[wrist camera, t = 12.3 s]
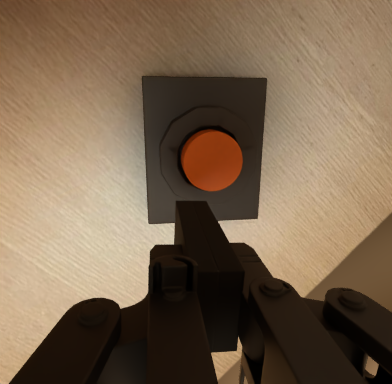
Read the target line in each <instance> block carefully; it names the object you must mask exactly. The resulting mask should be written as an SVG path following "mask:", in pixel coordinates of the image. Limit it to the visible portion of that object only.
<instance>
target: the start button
mask: <svg viewBox="0 0 392 384" xmlns="http://www.w3.org/2000/svg"><path fill="white" fill-rule="evenodd" d="M181 163H182V167H183V170H184V172H185V174H186V176H187V178H188V179H189V181H190V182H191V183H192V184H193V185H194V186H196V187H197V188H199V189H202V190H205V191H218V190H222V189H224V188H226V187H228V186H229V185H231V184H232V183H233V182H234V181H235V180H236V179H237V177H238V175H239V174H240V171H241V168H242V163H243V157H242V152H241V149H240V147H239V145H238V143H237V142H236V141H235V140H234V139H233V138H232V137H230V136H229V135H227V134H225V133H223V132H220V131H218V130H213V129H207V130H202V131H199V132H197V133H195V134H193V135H192V136H191V137H190V138H189V139H188V140H187V141H186V143H185V144H184V147H183V149H182V153H181Z"/></svg>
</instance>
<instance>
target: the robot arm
mask: <svg viewBox="0 0 392 384" xmlns="http://www.w3.org/2000/svg"><path fill="white" fill-rule="evenodd" d="M238 336H239V339H240V342H241V344H242V356H241V365H240V375H239V384H243V382H244V376H246V379H247V381H248V384H392V312H390V311H389V310H387V309H386V308H384V307H382V306H381V305H380V304H378V303H377V302H375V301H374V300H372V299H370V298H369V297H367V296H366V295H363V294H362V293H360V292H357V291H354V290H352V289H348V288H347V289H346V288H333V289H330V290H328V291H327V293H326V295H325V300H324V301H319V300H312V299H306V298H302V297H300V295H299V294H298V293H297V291H296V290H295V289H294V288H293V287H292V286H291V285H290V284H289V283H287V282H285V281H283V280H280V279H277V278H273V276H272V275H271V274H270V272H269V271H268V269H267V268H266V266H265V265H264V263H263V262H262V261H261V259H260V258H259V257H258V255H257V253H256V252H255V250H254V249H253V248H252V247H250V246H248V245H247V244H245V243H229V241H228V239H227V238H226V236H225V234H224V232H223V230H222V228H221V227H220V225H219V223H218V221H217V219H216V217H215V216H214V214H213V212H212V210H211V208H210V207H209V205H208V203H207V201H176V209H175V238H174V245H155V246H154V247H153V248H152V249H151V251H150V265H149V281H148V294H147V295H146V297H145V298H144V299H143V300H142V301H140V302H138V303H137V304H135V305H132V306H129V307H126V308H122V309H120V307H119V305H118V304H117V303H116V302H114V301H113V300H110V299H106V298H92V299H88V300H84V301H81V302H79V303H77V304H75V305H73V306H72V307H71V308H70V309H69V310H68V311H67V312H66V313H65V314H64V315H63V317H62V318H61V319H60V320H59V322H58V323H57V324H56V325H55V327H54V328H53V329H52V330H51V332H50V333H49V334H48V335H47V337H46V338H45V339H44V340H43V342H42V343H41V344H40V345H39V347H38V348H37V349H36V350H35V352H34V353H33V354H32V355H31V357H30V358H29V359H28V360H27V362H26V363H25V364H24V365H23V367H22V368H21V369H20V370H19V371H18V373H17V374H16V375H15V376H14V378H13V379H12V380H11V381H10V383H9V384H218V381H217V377H216V373H215V369H214V364H213V360H212V356H211V353H212V352H227V351H237V343H238ZM368 356H370V357H371V358H372V359H373V360H374V361H375V362H377V363H378V364H379V366H378V370H377V374H376V376H374V375H372V374H370V373H369V372H367V371H366V370H365V366H366V363H367V359H368Z"/></svg>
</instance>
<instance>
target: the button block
mask: <svg viewBox="0 0 392 384" xmlns="http://www.w3.org/2000/svg"><path fill="white" fill-rule="evenodd" d="M266 88H267V78H235V77H168V76H142V92H143V114H144V136H145V158H146V180H147V202H148V223H149V224H162V223H175V209H176V201H207V203H208V205H209V207H210V208H211V210H212V212H213V214H214V216H215V217H216V219H217V221H223V220H243V219H257V218H258V207H259V192H260V177H261V162H262V147H263V132H264V117H265V103H266ZM207 129H213V130H218V131H220V132H223V133H225V134H227V135H229V136H230V137H232V138H233V139H234V140H235V141H236V142H237V143H238V145H239V147H240V149H241V152H242V157H243V163H242V168H241V171H240V174H239V175H238V177H237V179H236V180H235V181H234V182H233V183H232V184H231V185H229V186H228V187H226V188H224V189H222V190H218V191H205V190H202V189H199V188H197V187H196V186H194V185H193V184H192V183H191V182H190V181H189V179H188V178H187V176H186V174H185V172H184V170H183V167H182V163H181V153H182V149H183V147H184V144H185V143H186V141H187V140H188V139H189V138H190V137H191V136H192V135H193V134H195V133H197V132H199V131H202V130H207Z"/></svg>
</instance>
